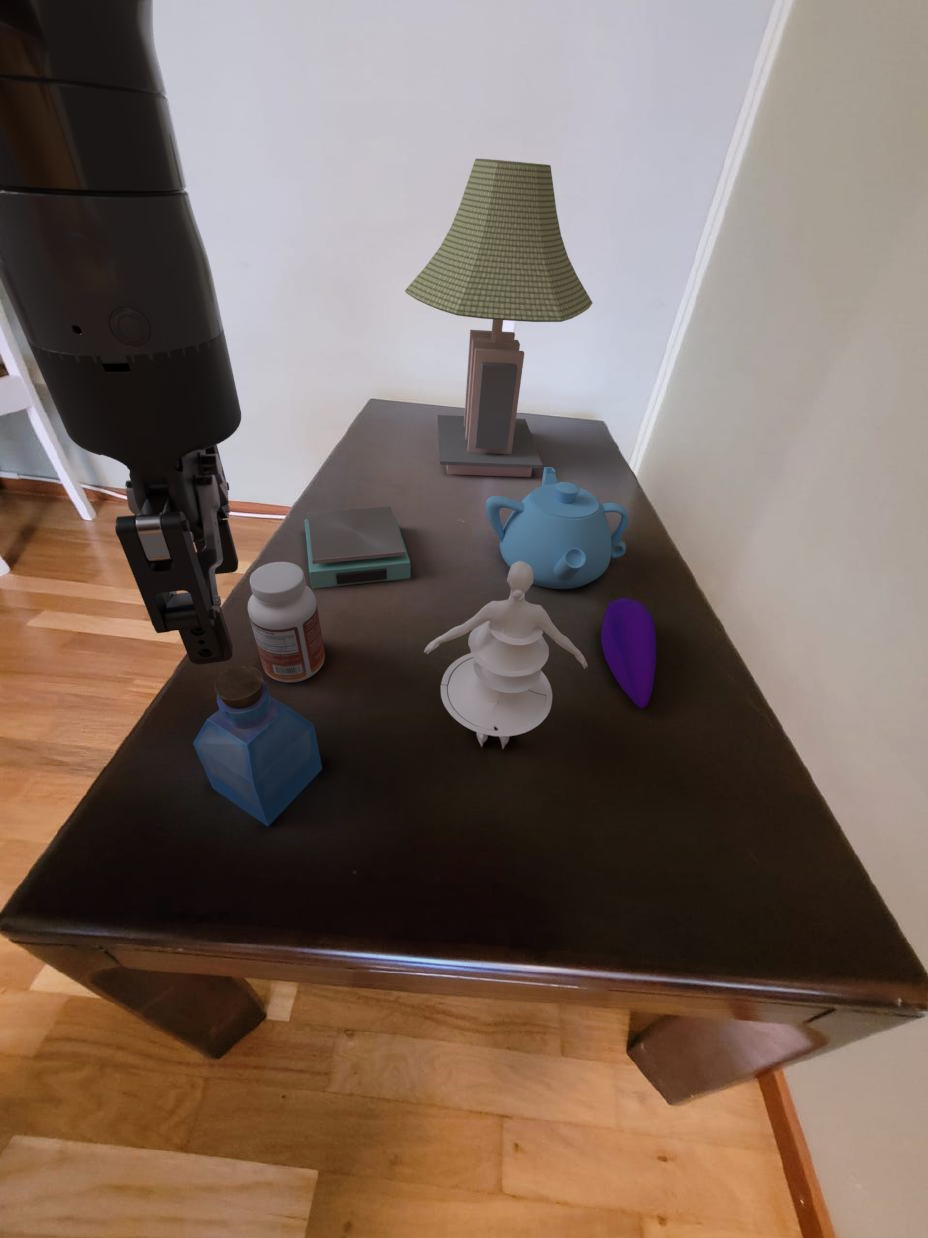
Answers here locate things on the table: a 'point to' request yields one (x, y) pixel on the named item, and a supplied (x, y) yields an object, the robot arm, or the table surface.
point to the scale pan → (354, 535)
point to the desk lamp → (499, 306)
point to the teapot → (558, 533)
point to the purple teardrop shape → (630, 647)
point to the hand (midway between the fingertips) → (218, 610)
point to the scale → (357, 569)
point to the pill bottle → (285, 622)
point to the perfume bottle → (256, 746)
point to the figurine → (503, 664)
